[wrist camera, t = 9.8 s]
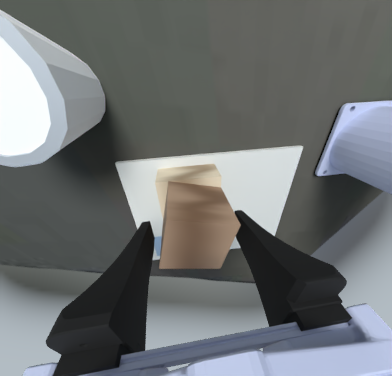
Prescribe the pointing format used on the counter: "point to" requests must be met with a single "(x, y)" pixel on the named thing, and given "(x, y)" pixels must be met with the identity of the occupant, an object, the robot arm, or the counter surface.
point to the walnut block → (196, 227)
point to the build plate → (230, 183)
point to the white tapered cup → (42, 95)
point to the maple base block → (185, 178)
